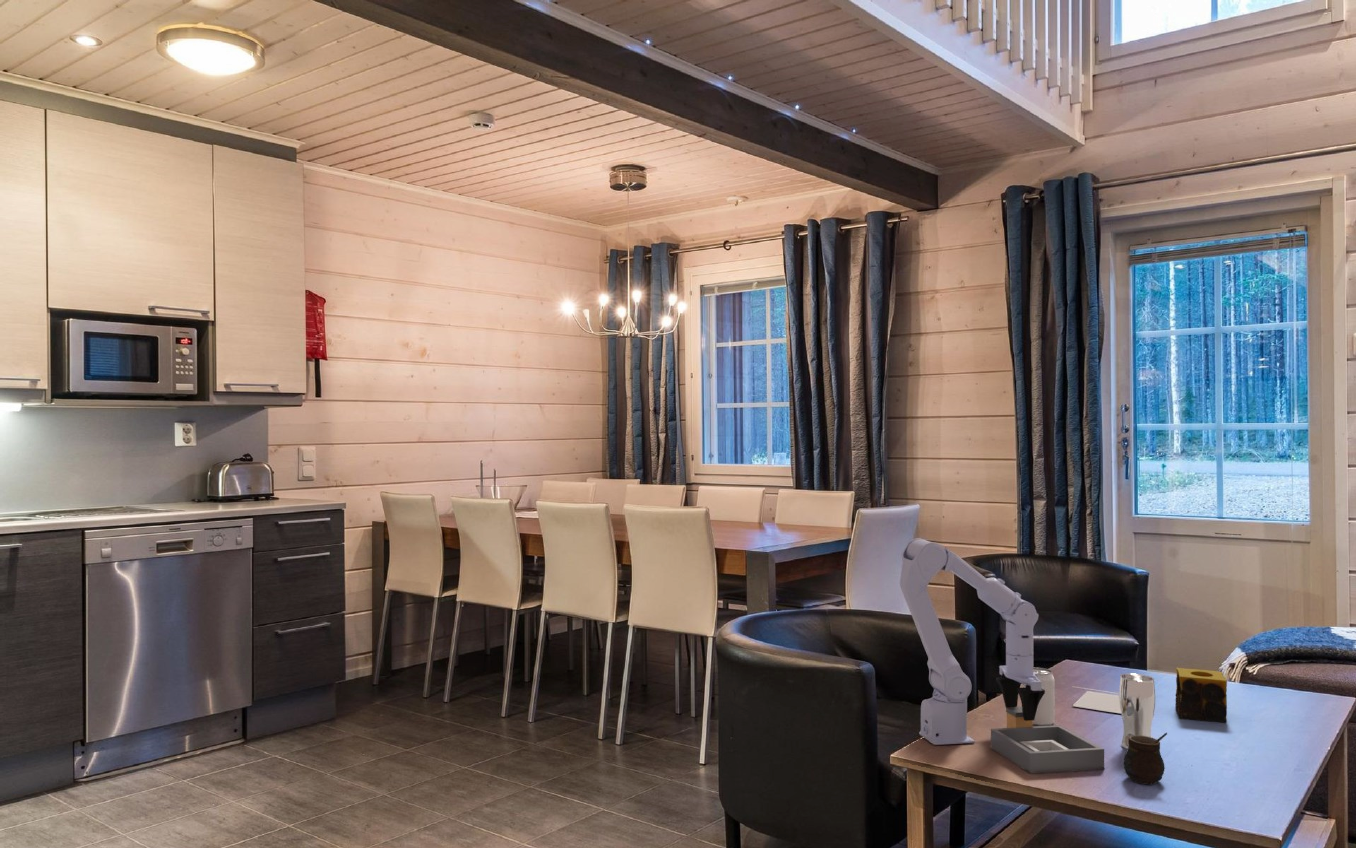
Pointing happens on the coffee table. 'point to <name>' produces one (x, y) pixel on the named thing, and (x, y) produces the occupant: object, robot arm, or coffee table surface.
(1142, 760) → the mate gourd
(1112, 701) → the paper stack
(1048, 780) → the coffee table surface
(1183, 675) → the candle
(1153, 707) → the beer glass
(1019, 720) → the plug
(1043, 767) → the box
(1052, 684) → the can
